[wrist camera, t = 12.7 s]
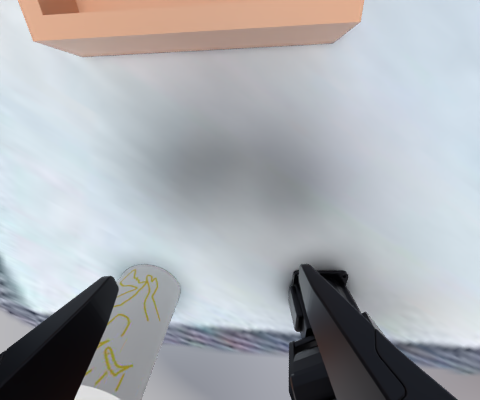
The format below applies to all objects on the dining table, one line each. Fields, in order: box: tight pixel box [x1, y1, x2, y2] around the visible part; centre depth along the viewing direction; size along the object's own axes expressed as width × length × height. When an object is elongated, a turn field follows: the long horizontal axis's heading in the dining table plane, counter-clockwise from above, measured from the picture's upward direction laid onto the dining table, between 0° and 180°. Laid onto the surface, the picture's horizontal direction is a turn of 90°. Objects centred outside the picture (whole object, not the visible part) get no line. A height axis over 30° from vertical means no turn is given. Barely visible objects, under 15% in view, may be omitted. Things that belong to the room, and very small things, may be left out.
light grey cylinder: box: [74, 265, 180, 400], centre depth 21 cm, size 8×8×12 cm
